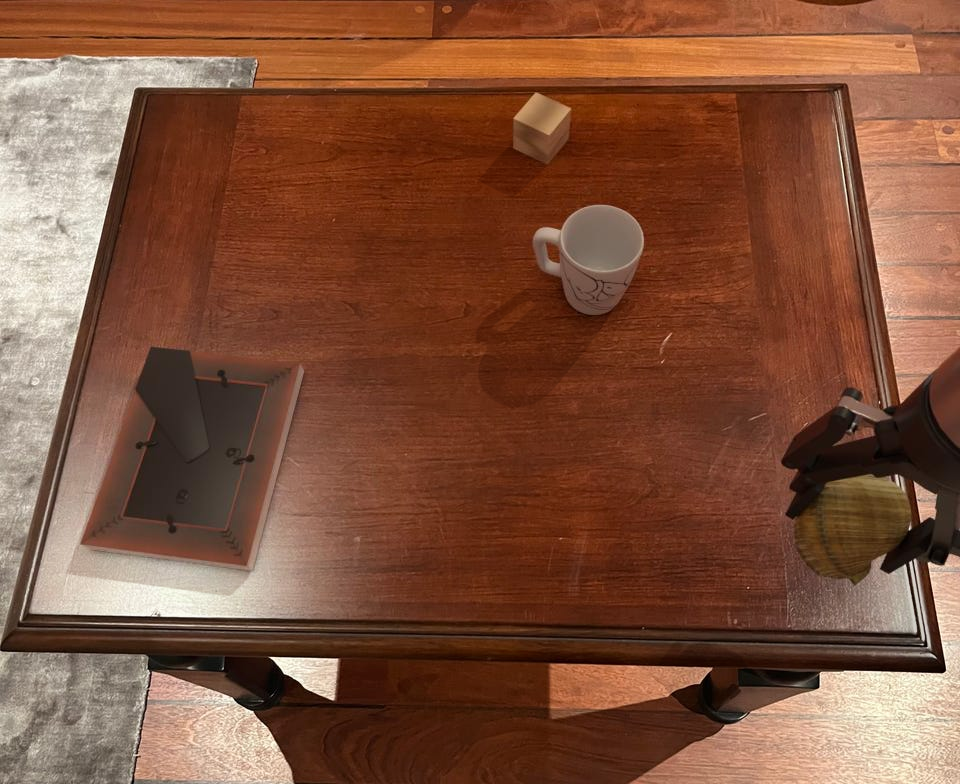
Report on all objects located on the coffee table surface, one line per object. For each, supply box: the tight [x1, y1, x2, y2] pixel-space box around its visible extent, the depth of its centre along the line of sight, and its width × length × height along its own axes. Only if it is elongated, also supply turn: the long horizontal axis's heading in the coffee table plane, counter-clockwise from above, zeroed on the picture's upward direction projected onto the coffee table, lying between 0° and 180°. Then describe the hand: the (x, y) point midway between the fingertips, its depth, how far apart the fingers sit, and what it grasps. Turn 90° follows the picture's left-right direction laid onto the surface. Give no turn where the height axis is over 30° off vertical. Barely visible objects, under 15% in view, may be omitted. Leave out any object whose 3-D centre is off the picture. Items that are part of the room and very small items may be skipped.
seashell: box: [793, 474, 912, 587], centre depth 64 cm, size 10×7×8 cm
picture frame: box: [79, 346, 305, 572], centre depth 81 cm, size 16×2×22 cm
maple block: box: [512, 92, 572, 166], centre depth 97 cm, size 5×5×5 cm
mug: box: [532, 204, 645, 316], centre depth 85 cm, size 11×8×10 cm
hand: (842, 530), depth 65 cm, fingers closed on seashell, 7 cm apart
